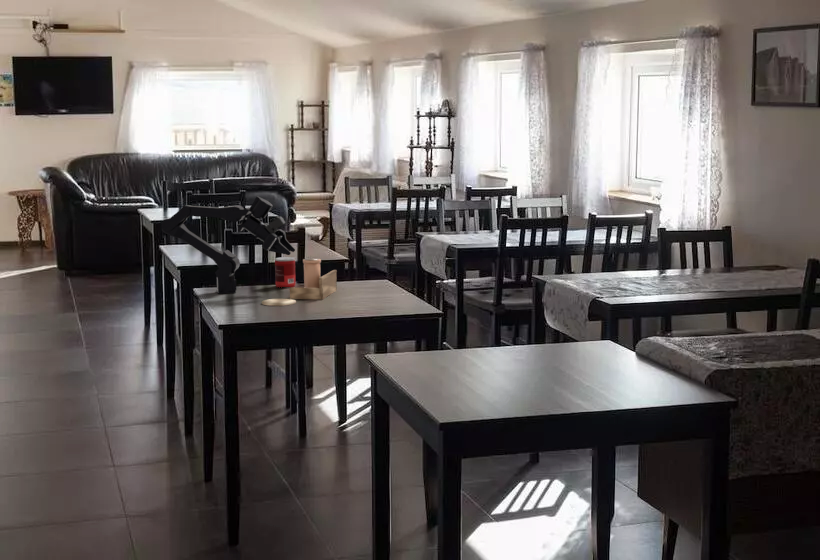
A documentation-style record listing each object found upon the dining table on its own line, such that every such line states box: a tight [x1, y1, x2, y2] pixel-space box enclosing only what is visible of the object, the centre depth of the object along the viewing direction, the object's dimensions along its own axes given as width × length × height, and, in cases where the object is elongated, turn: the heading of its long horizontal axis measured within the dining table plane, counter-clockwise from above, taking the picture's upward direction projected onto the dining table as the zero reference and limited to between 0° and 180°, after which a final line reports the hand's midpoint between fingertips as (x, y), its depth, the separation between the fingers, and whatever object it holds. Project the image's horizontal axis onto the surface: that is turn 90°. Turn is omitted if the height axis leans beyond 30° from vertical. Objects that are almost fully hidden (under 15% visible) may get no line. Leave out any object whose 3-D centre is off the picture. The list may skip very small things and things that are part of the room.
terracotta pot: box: [302, 257, 322, 288], centre depth 408 cm, size 7×7×13 cm
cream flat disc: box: [261, 298, 297, 307], centre depth 390 cm, size 12×12×1 cm
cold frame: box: [289, 269, 338, 300], centre depth 408 cm, size 12×21×8 cm, turn 170°
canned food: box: [274, 256, 296, 289], centre depth 428 cm, size 8×8×11 cm
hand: (292, 252), depth 411 cm, fingers open, 9 cm apart
